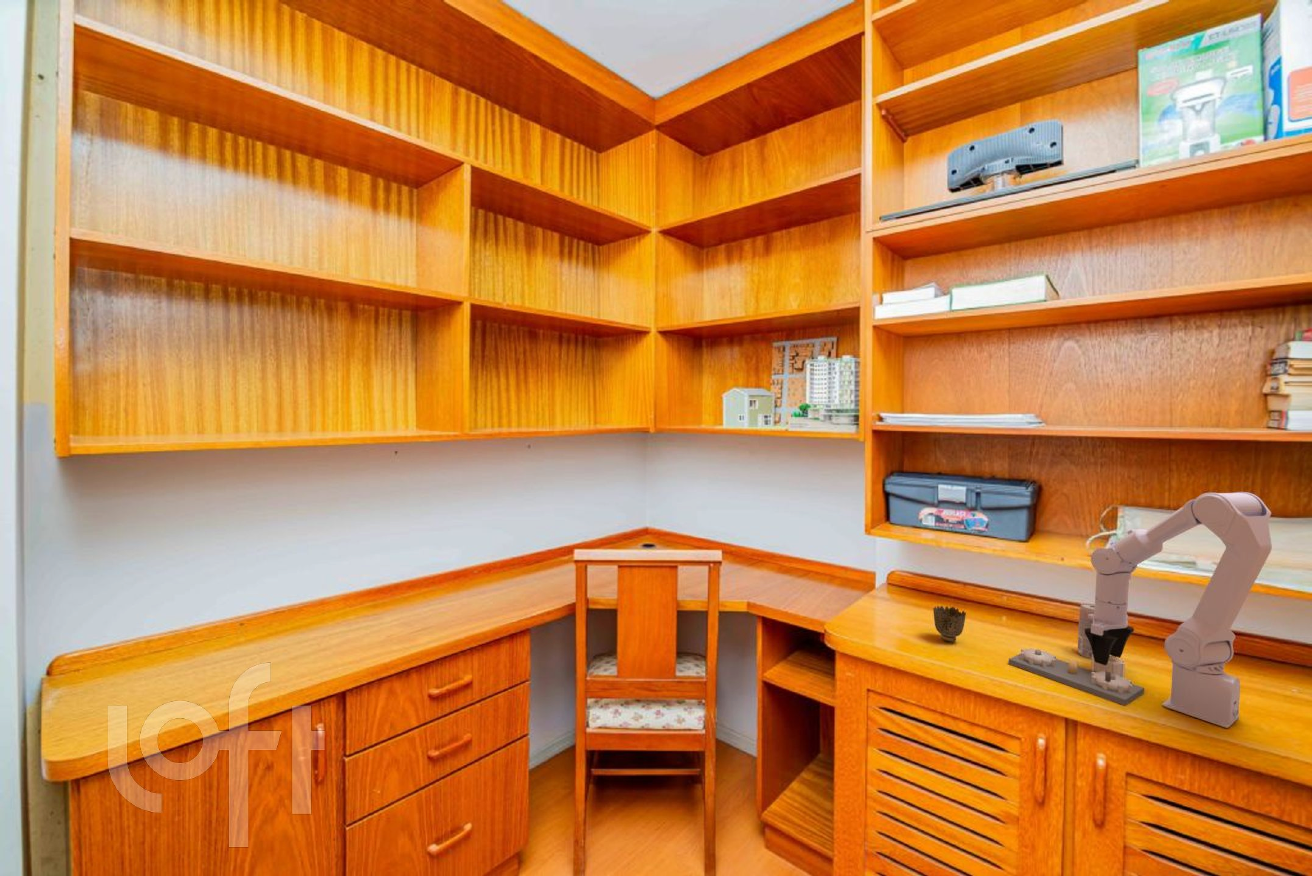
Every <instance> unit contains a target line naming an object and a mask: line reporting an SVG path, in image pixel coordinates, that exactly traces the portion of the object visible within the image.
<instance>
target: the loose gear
mask: <svg viewBox="0 0 1312 876" xmlns="http://www.w3.org/2000/svg"><path fill="white" fill-rule="evenodd" d="M1125 666H1126V663H1125V660H1124V659H1120V658H1118V657H1115V656H1112V655H1110V657H1109V661H1108V663H1107V665H1102V664H1099V663H1096V662H1095V661H1094V657H1093V654H1092V659H1091V666H1090V667H1091V670H1092V671H1095V672H1101V671H1104V672H1106V671H1107V672H1110V673H1111V674H1115V675H1116V674H1117V675H1120V676H1121V677H1123V678H1125V673H1126V672H1125V670H1126V669H1125V668H1126V667H1125Z"/></svg>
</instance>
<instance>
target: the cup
mask: <svg viewBox="0 0 1312 876" xmlns="http://www.w3.org/2000/svg"><path fill="white" fill-rule="evenodd" d="M932 609H933V621H934V626H935V630H936V631H937V632H938V633H939V634H940V639H941V641H942V642H945V643H952V644H953V643H956V642H957V637H959V636H960V635H961V634H962V633H963V631H964V626H965V621H966V616H967V612H965V610H962V611H959V607H958V608H955V606H950V607H949V606H948V605H946V606H945V607H943V606H942V605H940V606H939V605H937V606H934V607H932Z"/></svg>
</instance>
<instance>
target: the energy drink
mask: <svg viewBox="0 0 1312 876" xmlns="http://www.w3.org/2000/svg"><path fill="white" fill-rule="evenodd" d="M1094 610H1095V603H1094V604H1092V603H1081V604H1080V606H1079V612H1078V615H1079V616H1078V635H1077V636H1078V637H1077V638H1078V639H1077V653H1078V655H1080V656H1081V657H1085V658H1087V659H1091V660H1092V654H1093V652H1092V648H1091V645H1090V642H1089V640H1088V638H1087V636H1086V635H1085V629H1087V628H1090V629H1091V624H1093V619H1090V618H1088V615H1089V614H1094Z"/></svg>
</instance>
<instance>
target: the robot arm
mask: <svg viewBox="0 0 1312 876" xmlns="http://www.w3.org/2000/svg"><path fill="white" fill-rule="evenodd" d="M1271 515H1272V511H1270V509H1269V508H1268V507H1267V505H1266V504H1265V503H1264V501H1263V500H1262V499H1261V498H1260V497H1259V496H1257V495H1256V494H1253V493H1251V492H1245V491H1237V492H1226V493H1225V492H1218V493H1217V492H1205V493H1202V494H1200V495H1199V496H1197V497H1196V498H1195V499H1191V500H1189V501H1187V502H1185V504H1184V505H1183V506H1182V507H1180V508H1179V509H1177V510H1175V511H1174V512H1173V513H1171V514H1170V515H1168V516H1166V517H1165V518H1164V519H1162V520H1161V521H1159V522H1158V523H1156V524H1155V525H1154V526H1152V527H1150V528H1149V529H1144V528H1136V529H1135V528H1131V529H1129V530H1128V531H1126V533H1127V535H1126V536H1124V537H1122V538H1120V539H1119V540H1118V541H1117V540H1115V541H1111V542H1110V543H1109V547H1098V548H1096V549H1095V550H1094V551H1093V552H1092V553H1091V556H1090V563H1091V566H1092V567H1093V569H1094V570H1095V571H1096V577H1095V578H1096V579H1095V596H1094V605H1095V610H1094V614H1089V615H1088V618H1090V619H1093V624H1091V629H1090V628H1087V629H1085V635H1086V636H1087V638H1088V640H1089V642H1090V645H1091V648H1092V652H1093V657H1094V661H1095V662H1096V663H1099V664H1102V665H1107V663H1108V661H1109V657H1110V656H1115V657H1116V658H1118V659H1120V658H1121V657H1122V655H1123V652H1124V649H1125V646H1126V644H1127V641H1128V639H1129V638H1130V636H1131V635H1132V633H1134V630H1135V628H1134V627H1133V626H1130V625H1128V623H1129V622H1128V619H1129V615H1128V604H1129V603H1128V602H1129V584H1130V583H1129V582H1130V580H1131V576H1132V573H1133V572H1135V571H1136V569H1137V567H1138V565H1140V563H1142V562H1143V563H1144V562H1145V561H1146V560H1148V559H1150V558H1152V557H1154V556H1155V555H1158V554H1159V553H1160V552H1162V551H1163V547H1164V546H1163V543H1165V542H1167V541H1169V540H1171V539H1173V538H1175V537H1177V536H1179V535H1182V534H1183V533H1185V532H1188V531H1190V530H1191V529H1193V528H1195V527H1198V526H1200V525H1203V526H1205V527H1206V528H1207V529H1208V530H1210V531H1211V532H1212V533H1213V534H1214V535H1215V536H1217V537H1218V538H1219V540H1221V542H1222V543H1223V545H1224V546H1225V548H1224V550H1223V551H1224V552H1222V553H1223V554H1222V555H1221V557H1220V559H1219V562H1218V563H1217V565H1216V568H1215V569H1214V572H1213V573H1212V576H1211V578H1210V580H1209V582H1208V584H1207V585H1206V588H1205V590H1204V591H1203V594H1202V596H1201V597H1200V599H1199V602H1198V604H1197V606H1196V608H1195V610H1194V612H1193V614H1192V616H1191V617H1190V618H1188V619H1186V620H1185V621H1184V622H1183V623H1181V624H1180V625H1178V627H1177V629H1176V631H1174V632H1173V633H1172V634H1170V635H1168V636H1167V637H1166V638H1165V641H1164V650H1165V653H1166V654H1167V656H1168V658H1169V659H1170V660H1171V664H1172V668H1171V669H1172V671H1171V684H1170V685H1171V690H1170V697H1169V698H1168V699H1167V700H1165V701H1164V702H1163V703H1162V706H1163V707H1164V708H1167V709H1170V710H1173V711H1176V712H1180V713H1182V714H1185V715H1187V716H1191V717H1194V718H1197V719H1199V720H1202V721H1205V722H1208V723H1211V724H1214V725H1217V726H1220V727H1222V728H1225V729H1226V728H1227V729H1228V728H1230V726H1232V725H1233V724H1234V723H1235V722H1236V721H1237V720H1238V719H1239V718H1240V715H1239V713H1240V712H1239V711H1240V698H1241V697H1240V696H1241V682H1240V678H1238V677H1236V676H1234V675H1231V674H1228V673H1226V672H1224V670H1225V664H1227V663H1228V662H1230V661H1231V660H1232V659H1233V656H1234V646H1233V645H1234V640H1235V639H1236V635H1235V634H1234V632H1233V631H1232V630H1231V627H1232V626H1233V624H1234V622H1235V621H1236V618H1237V616H1238V615H1239V613H1240V611H1241V609H1242V608H1243V605H1244V603H1245V602H1246V600H1247V597H1248V596H1249V593H1250V592H1251V590H1252V588H1253V587H1254V585H1255V583H1256V580H1257V579H1258V576H1259V575H1260V573H1261V571H1262V569H1263V567H1264V565H1265V564H1266V561H1267V559H1268V558H1269V556H1270V554H1271V552H1272V540H1271V539H1272V538H1271V532H1270V525H1269V520H1270V518H1271Z"/></svg>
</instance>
